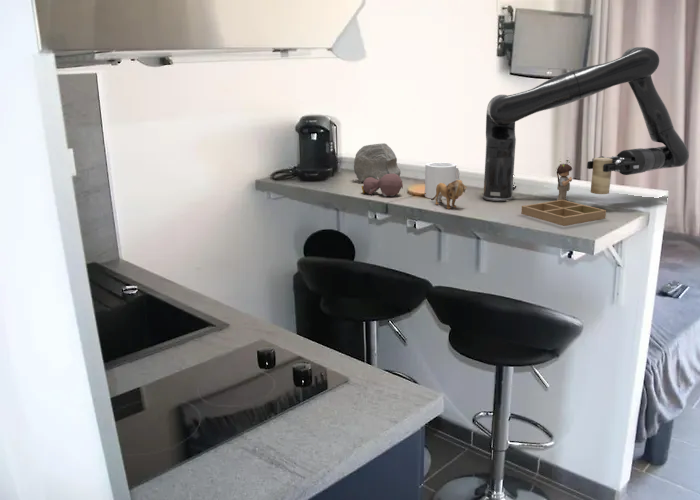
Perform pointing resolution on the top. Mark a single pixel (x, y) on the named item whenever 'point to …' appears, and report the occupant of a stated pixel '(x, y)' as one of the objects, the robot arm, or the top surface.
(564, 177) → the toy
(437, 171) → the mug
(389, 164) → the stone
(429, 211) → the top surface
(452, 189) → the lion figurine
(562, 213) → the wooden compartment tray
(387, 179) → the toy
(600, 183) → the peg
